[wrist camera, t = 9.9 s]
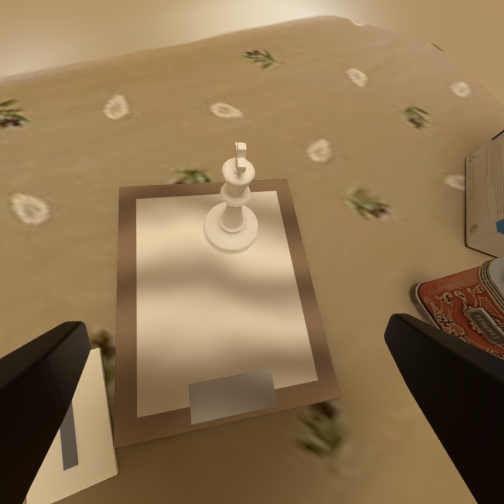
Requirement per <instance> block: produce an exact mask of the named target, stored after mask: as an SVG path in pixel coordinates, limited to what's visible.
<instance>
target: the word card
mask: <svg viewBox="0 0 504 504" xmlns="http://www.w3.org/2000/svg"><path fill="white" fill-rule="evenodd" d="M113 448H114V435H113V428H112V421H111V414H110V407H109V400H108V393H107V386H106V379H105V372H104V365H103V358H102V352H101V348H97V349H93V350H90V353H89V356H88V359H87V362H86V364H85V367H84V370H83V372H82V375H81V378H80V380H79V383H78V386H77V388H76V391H75V394H74V396H73V399H72V402H71V404H70V407H69V409H68V412H67V414H66V416H65V418H64V420H63V422H62V424H61V426H60V428H59V430H58V432H57V435H56V437H55V439H54V441H53V443H52V445H51V447H50V449H49V451H48V453H47V455H46V457H45V459H44V461H43V463H42V465H41V467H40V469H39V471H38V473H37V475H36V477H35V479H34V481H33V483H32V485H31V487H30V489H29V491H28V493H27V495H26V497H27V504H52V503H54V502H56V501H58V500H61V499H63V498H65V497H67V496H70V495H72V494H74V493H76V492H79V491H81V490H83V489H86V488H88V487H90V486H92V485H95V484H97V483H99V482H101V481H104V480H106V479H108V478H110V477H113V476H115V475H117V474H118V473H119V469H118V462H117V455H116V448H115V449H113Z"/></svg>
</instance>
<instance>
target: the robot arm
mask: <svg viewBox="0 0 504 504" xmlns="http://www.w3.org/2000/svg"><path fill="white" fill-rule="evenodd" d="M384 339H385V342H386V344H387V346H388V348H389V350H390V352H391V354H392V356H393V358H394V360H395V362H396V364H397V367H398V369H399V371H400V373H401V375H402V377H403V379H404V381H405V383H406V385H407V387H408V388H409V390H410V392H411V394H412V395H413V397H414V399H415V400H416V402H417V404H418V405H419V407H420V409H421V410H422V412H423V414H424V415H425V417H426V419H427V420H428V422H429V424H430V425H431V427H432V429H433V430H434V432H435V434H436V435H437V437H438V439H439V440H440V442H441V444H442V445H443V447H444V449H445V450H446V452H447V454H448V455H449V457H450V459H451V460H452V462H453V463H454V465H455V467H456V468H457V470H458V472H459V473H460V475H461V477H462V478H463V480H464V482H465V483H466V485H467V487H468V488H469V490H470V492H471V493H472V495H473V497H474V498H475V500H476V502H477V503H478V504H504V360H503V359H501V358H499V357H497V356H495V355H493V354H490V353H488V352H486V351H484V350H482V349H480V348H478V347H476V346H474V345H472V344H469V343H467V342H465V341H463V340H461V339H459V338H457V337H455V336H453V335H451V334H448V333H446V332H444V331H442V330H440V329H438V328H436V327H434V326H432V325H430V324H427V323H425V322H423V321H421V320H419V319H417V318H415V317H413V316H411V315H409V314H405V313H399V314H393V315H392V316H391V317H390V319H389V322H388V325H387V328H386V330H385V333H384ZM90 348H91V345H90V340H89V336H88V332H87V328H86V325H85V323H84V322H82V321H67V322H64V323H62V324H60V325H59V326H57V327H55V328H53V329H52V330H50V331H48V332H46V333H44V334H43V335H41V336H39V337H37V338H36V339H34V340H32V341H30V342H29V343H27V344H25V345H23V346H22V347H20V348H18V349H16V350H15V351H13V352H11V353H9V354H8V355H6V356H4V357H2V358H1V359H0V504H23V502H24V500H25V497H26V495H27V493H28V491H29V489H30V487H31V485H32V483H33V481H34V479H35V477H36V475H37V473H38V471H39V469H40V467H41V465H42V463H43V461H44V459H45V457H46V455H47V453H48V451H49V449H50V447H51V445H52V443H53V441H54V439H55V437H56V435H57V432H58V430H59V428H60V426H61V424H62V422H63V420H64V418H65V416H66V414H67V412H68V409H69V407H70V404H71V402H72V399H73V396H74V394H75V391H76V388H77V386H78V383H79V380H80V378H81V375H82V372H83V370H84V367H85V364H86V362H87V359H88V356H89V353H90Z"/></svg>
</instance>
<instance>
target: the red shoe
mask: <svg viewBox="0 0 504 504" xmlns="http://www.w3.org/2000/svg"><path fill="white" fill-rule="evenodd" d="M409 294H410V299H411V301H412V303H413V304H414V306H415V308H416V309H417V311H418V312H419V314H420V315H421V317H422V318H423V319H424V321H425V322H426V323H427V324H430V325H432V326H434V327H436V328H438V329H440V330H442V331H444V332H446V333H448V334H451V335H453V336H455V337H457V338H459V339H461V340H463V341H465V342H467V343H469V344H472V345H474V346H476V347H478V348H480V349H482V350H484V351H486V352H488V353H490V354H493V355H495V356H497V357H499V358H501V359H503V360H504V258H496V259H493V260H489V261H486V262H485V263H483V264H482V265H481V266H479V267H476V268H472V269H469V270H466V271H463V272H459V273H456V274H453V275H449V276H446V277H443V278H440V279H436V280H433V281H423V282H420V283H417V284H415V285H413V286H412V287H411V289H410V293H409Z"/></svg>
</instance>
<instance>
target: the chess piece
mask: <svg viewBox="0 0 504 504" xmlns="http://www.w3.org/2000/svg"><path fill="white" fill-rule="evenodd" d="M235 151H236V158H232V159H229V160H227V161H226V162H225V163H224V165H223V167H222V175H223V178H224V180H225V182H226V183H225V184H224V185H223V186H222V188H221V191H220V195H221V198H222V200H223V201H224V203H220V204H218V205H216V206H214V207H213V208H212V209H211V210H210V211H209V212H208V214H207V215H206V218H205V221H204V227H203V229H204V235H205V238H206V240H207V241H208V243H209V244H210V245H211V246H212V247H213V248H215V249H216V250H218V251H220V252H223V253H227V254H237V253H241V252H244V251H246V250H247V249H249V248H250V247H251V246H252V245H253V244H254V243H255V241H256V239H257V236H258V221H257V218H256V216H255V214H254V213H253V212H252V211H251V210H250V209H249V208H248V207H247V206H245V204H247V203H248V202H249V200H250V198H251V192H250V189H249V187H248V185H249V184H250V183H251V182H252V180H253V179H254V176H255V170H254V167H253V165H252V164H251V163H250V162H249V161H247V160H246V159H245V155H246V143H236V145H235Z"/></svg>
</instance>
